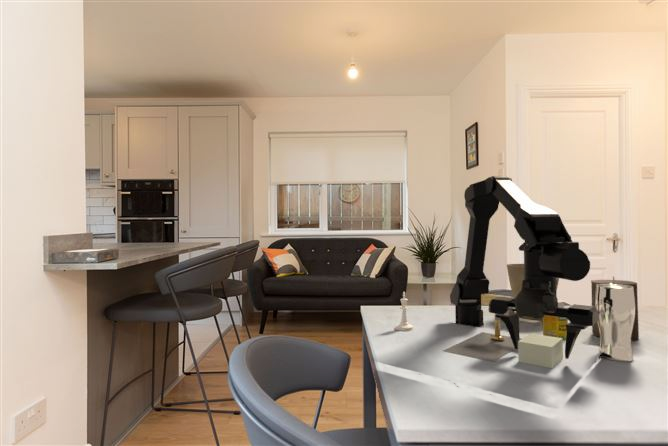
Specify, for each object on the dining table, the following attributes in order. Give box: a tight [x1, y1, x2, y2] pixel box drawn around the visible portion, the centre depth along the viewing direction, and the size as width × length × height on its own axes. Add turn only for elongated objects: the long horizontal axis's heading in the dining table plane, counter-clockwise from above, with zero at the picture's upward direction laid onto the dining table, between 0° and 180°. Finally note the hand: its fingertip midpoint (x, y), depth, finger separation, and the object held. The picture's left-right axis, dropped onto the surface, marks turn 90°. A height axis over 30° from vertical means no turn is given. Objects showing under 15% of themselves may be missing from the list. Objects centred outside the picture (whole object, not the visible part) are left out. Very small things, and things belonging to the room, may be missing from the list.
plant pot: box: [506, 263, 560, 321], centre depth 125 cm, size 15×15×16 cm
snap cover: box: [517, 333, 564, 369], centre depth 81 cm, size 6×8×4 cm
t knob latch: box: [481, 293, 540, 341], centre depth 94 cm, size 3×12×10 cm, turn 42°
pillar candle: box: [590, 276, 640, 342], centre depth 103 cm, size 10×10×15 cm
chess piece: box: [394, 291, 414, 332], centre depth 112 cm, size 5×5×10 cm
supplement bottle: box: [542, 299, 569, 342], centre depth 99 cm, size 5×5×10 cm
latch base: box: [442, 331, 522, 363], centre depth 91 cm, size 11×21×1 cm, turn 137°
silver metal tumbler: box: [595, 284, 635, 363], centre depth 86 cm, size 7×7×15 cm
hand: (541, 353), depth 81 cm, fingers open, 9 cm apart
